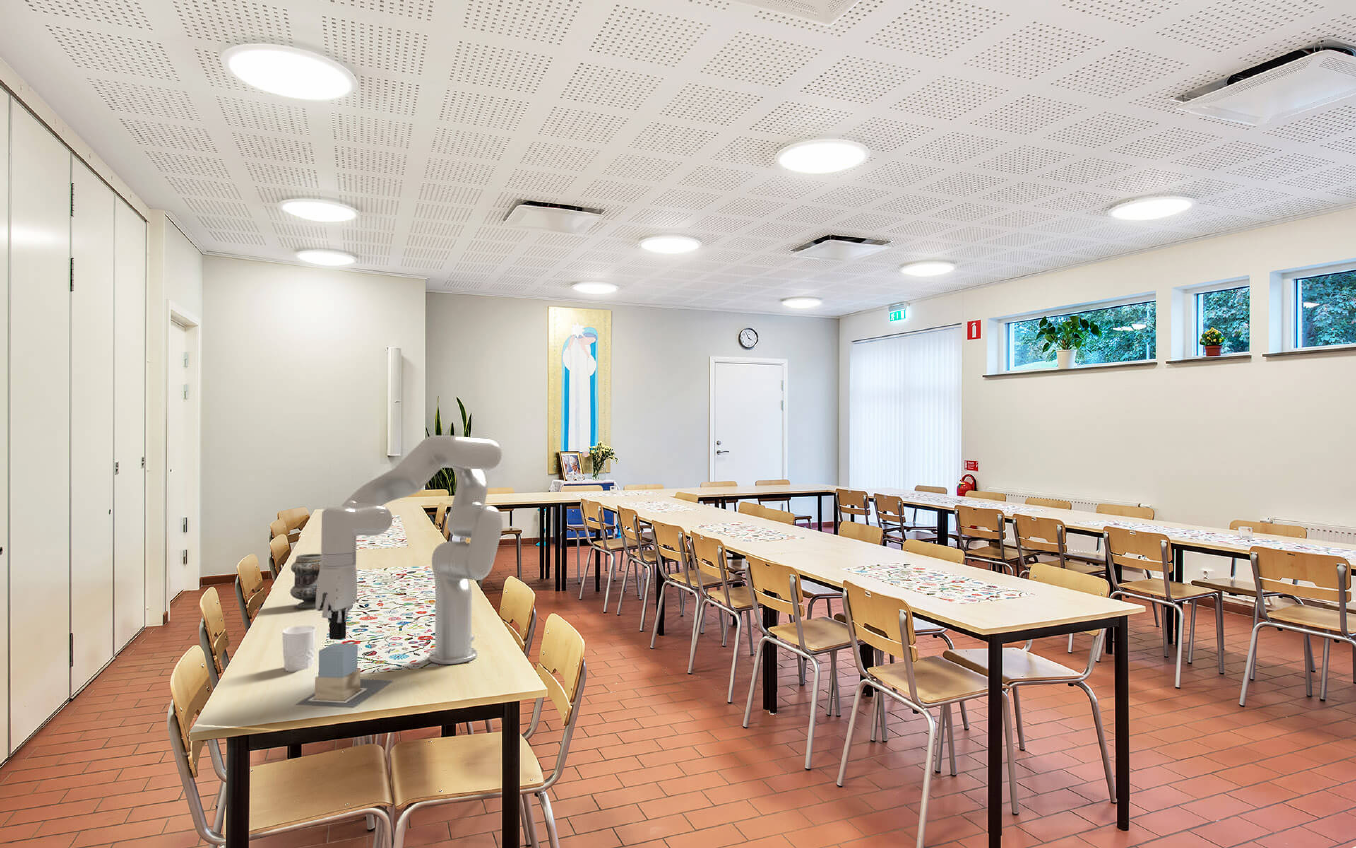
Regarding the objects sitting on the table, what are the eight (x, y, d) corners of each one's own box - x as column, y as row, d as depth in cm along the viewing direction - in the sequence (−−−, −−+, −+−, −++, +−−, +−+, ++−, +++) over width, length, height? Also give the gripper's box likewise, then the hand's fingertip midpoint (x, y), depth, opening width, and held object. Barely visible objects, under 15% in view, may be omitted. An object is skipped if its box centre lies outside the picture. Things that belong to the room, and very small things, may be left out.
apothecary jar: (323, 601, 272) (323, 551, 272) (332, 607, 262) (333, 555, 263) (286, 606, 264) (286, 554, 264) (294, 612, 255) (295, 559, 255)
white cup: (307, 661, 202) (307, 624, 202) (321, 667, 197) (321, 629, 197) (276, 668, 196) (276, 630, 196) (290, 675, 191) (290, 635, 191)
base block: (332, 688, 180) (332, 668, 180) (360, 690, 179) (360, 669, 179) (315, 699, 173) (315, 677, 173) (343, 701, 172) (343, 679, 172)
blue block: (333, 668, 180) (334, 643, 180) (357, 669, 179) (357, 644, 179) (318, 676, 174) (318, 650, 174) (343, 678, 173) (343, 651, 173)
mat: (340, 679, 188) (340, 677, 188) (393, 682, 186) (394, 680, 186) (295, 706, 170) (295, 704, 170) (353, 709, 168) (353, 707, 168)
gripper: (342, 554, 184) (340, 629, 184) (304, 565, 169) (302, 647, 169) (370, 555, 183) (369, 631, 183) (335, 566, 168) (334, 648, 168)
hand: (337, 638), depth 176 cm, fingers closed
